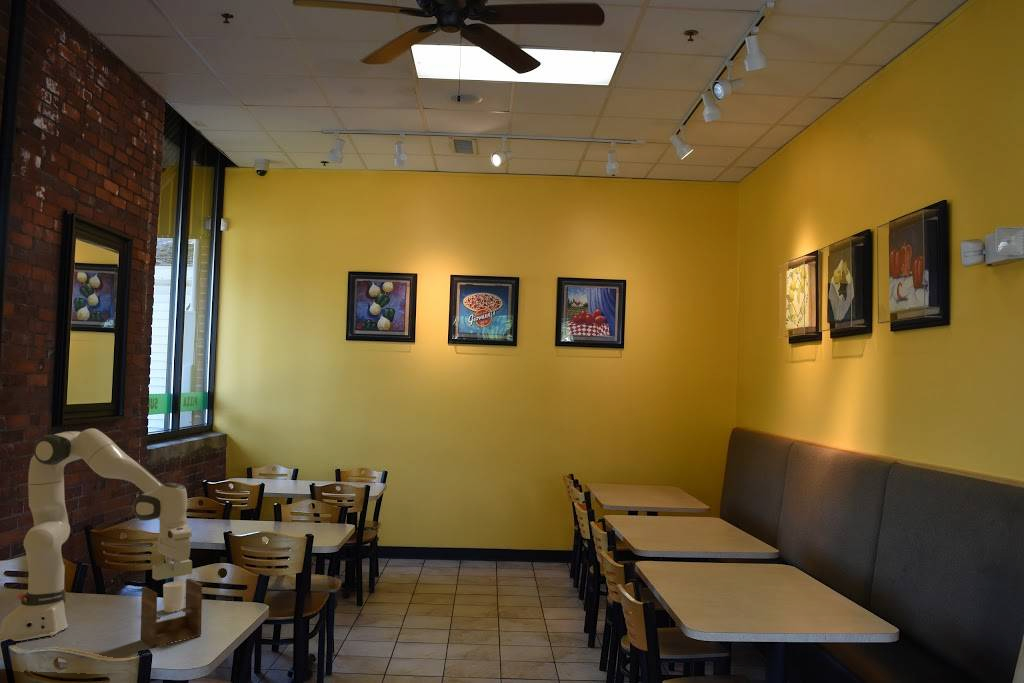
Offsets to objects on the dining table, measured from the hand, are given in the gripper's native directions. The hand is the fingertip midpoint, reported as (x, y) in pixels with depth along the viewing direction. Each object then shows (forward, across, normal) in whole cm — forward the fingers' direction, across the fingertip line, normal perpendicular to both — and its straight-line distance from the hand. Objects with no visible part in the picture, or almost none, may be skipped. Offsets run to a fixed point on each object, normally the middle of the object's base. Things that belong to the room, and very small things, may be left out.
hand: (172, 569), depth 264 cm
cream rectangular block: (+2, 0, 0) cm, 2 cm away
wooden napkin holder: (+24, 0, 0) cm, 24 cm away
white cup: (+24, -32, +13) cm, 42 cm away
